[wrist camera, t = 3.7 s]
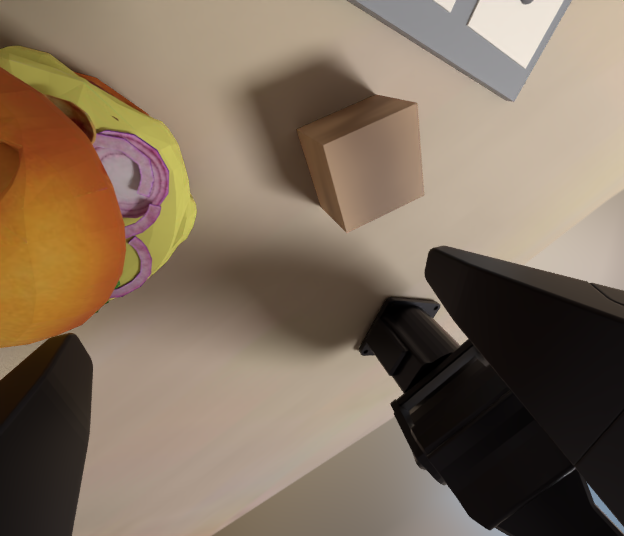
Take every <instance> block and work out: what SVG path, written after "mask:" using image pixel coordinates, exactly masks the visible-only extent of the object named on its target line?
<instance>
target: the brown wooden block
mask: <svg viewBox="0 0 624 536" xmlns="http://www.w3.org/2000/svg"><path fill="white" fill-rule="evenodd" d="M296 130H297V133H298V136H299V139H300V143H301V146H302V149H303V152H304V155H305V159H306V162H307V165H308V168H309V171H310V174H311V178H312V181H313V184H314V187H315V190H316V193H317V197H318V200H319V203H320V206H321V208H322V209H323V210H324V211H325V212H326V213H327V214H328V215H329V216H330V217H331V218H332V219H333V220H334V221H335V222H336V223H337V224H338V225H339V226H340V227H341V228H342V229H343V230H344V231H345V232H346V233H348V232H350V231H352V230H354V229H356V228H358V227H360V226H362V225H364V224H366V223H369V222H371V221H373V220H375V219H377V218H379V217H381V216H383V215H385V214H387V213H389V212H391V211H393V210H395V209H397V208H399V207H401V206H403V205H405V204H408V203H410V202H412V201H414V200H416V199H418V198H420V197H422V196H424V186H423V173H422V159H421V146H420V133H419V119H418V106H417V103H415V102H410V101H405V100H400V99H395V98H390V97H385V96H380V95H373V96H371V97H369V98H367V99H364V100H362V101H360V102H357V103H355V104H353V105H351V106H348V107H346V108H344V109H341V110H339V111H337V112H335V113H332V114H330V115H328V116H326V117H323V118H321V119H319V120H316V121H314V122H312V123H310V124H307V125H305V126H303V127H300V128H298V129H296Z"/></svg>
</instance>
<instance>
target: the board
mask: <svg viewBox="0 0 624 536" xmlns="http://www.w3.org/2000/svg"><path fill="white" fill-rule="evenodd" d="M347 1H349V2H351V3H352V4H354V5H355V6H357V7H358V8H360V9H362V10H363V11H365V12H366V13H368V14H370V15H371V16H373V17H374V18H376V19H378V20H379V21H381V22H382V23H384V24H385V25H387V26H389V27H390V28H392V29H393V30H395V31H397V32H398V33H400V34H401V35H403V36H405V37H406V38H408V39H409V40H411V41H413V42H414V43H416V44H417V45H419V46H420V47H422V48H424V49H425V50H427V51H428V52H430V53H432V54H433V55H435V56H436V57H438V58H440V59H441V60H443V61H444V62H446V63H447V64H449V65H451V66H452V67H454V68H455V69H457V70H459V71H460V72H462V73H463V74H465V75H467V76H468V77H470V78H471V79H473V80H474V81H476V82H478V83H479V84H481V85H482V86H484V87H486V88H487V89H489V90H490V91H492V92H494V93H495V94H497V95H498V96H500V97H502V98H503V99H505V100H506V101H512V102H514V101H515V99H516V98H517V96H518V94H519V92H520V91H521V89H522V87H523V85H524V84H525V82H526V80H527V78H528V76H529V75H530V73H531V71H532V69H533V68H534V66H535V64H536V62H537V61H538V59H539V57H540V55H541V54H542V52H543V50H544V48H545V47H546V45H547V43H548V41H549V40H550V38H551V36H552V34H553V32H554V31H555V29H556V27H557V25H558V24H559V22H560V20H561V18H562V17H563V15H564V13H565V11H566V10H567V8H568V6H569V4H570V3H571V1H572V0H347Z"/></svg>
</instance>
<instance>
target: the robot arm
mask: <svg viewBox="0 0 624 536" xmlns="http://www.w3.org/2000/svg"><path fill="white" fill-rule="evenodd" d="M425 278H426V280H427V282H428V283H429V285H430V286H431V288H432V289H433V291H434V292H435V294H436V295H437V297H438V298H439V300H440V301H441V303H442V304H443V306H444V307H445V309H446V310H447V312H448V313H449V315H450V316H451V317H452V319H453V320H454V321H455V323H456V324H457V325H458V327H459V328H460V329H461V330H462V331H463V333H464V334H465V335H466V336H467V337H468V340H467V341H466V342H464V343H463V344H462V345H461V346H460V345H459V344H458V343H457V342H456V341H455V340H454V339H453V338H452V337H451V336H450V335H449V334H448V333H447V332H446V331H445V330H444V329H443V328H442V327H441V326H440V325H439V324H438V323H437V322H436V321H435V320H434V319H433V318H434V316H435V315H436V313H437V311H438V310H439V308H440V304H439V303H437V302H436V301H426V300H415V299H404V298H394V297H390V298H388V299H387V300H386V301H385V303H384V305H383V306H382V308H381V310H380V312H379V314H378V316H377V317H376V319H375V321H374V323H373V325H372V327H371V328H370V330H369V332H368V334H367V336H366V338H365V339H364V341H363V343H362V345H361V347H360V349H359V352H360V353H361V355H363V356H368V355H375V356H376V357H377V359H378V360H379V361H380V363H381V364H382V366H383V367H384V369H385V370H386V372H387V373H388V375H390V376H392V377H393V378H394V380H395V381H396V383H397V384H398V386H399V387H400V388H401V390H402V391H403V393H404V394H403V395H401V396H400V397H399V398H398V399H397V400H396V399H395V400H394V401H392V402H391V403H390V404H391V406H392V408H393V410H394V415H395V417H396V419H397V421H398V423H399V425H400V427H401V429H402V432H403V433H404V436H405V438H406V439H407V442H408V444H409V446H410V448H411V450H412V452H413V455H414V458H415V461H416V464H417V465H418V466H419V467H420V468H421V469H424V470H427V471H428V472H429V473H430V474H431V475H432V476H433V477H434V478H435V479H436V480H437V481H438V482H439V483H440V484H442V485H446V484H447V485H448V487H449V488H450V489H451V491H452V492H453V493H454V495H455V496H456V497H457V499H458V500H459V502H460V503H461V505H462V506H463V508H464V509H465V511H466V512H467V514H468V515H469V516H470V517H471V518H472V519H473V520H475V521H476V522H477V523H479V524H480V525H482V526H483V527H485V528H486V529H488V530H492V529H493V528H496V529H498V530H500V531H501V532H503V533H505V534H506V535H509V536H624V534H623V533H622V532H621V531H620V530H619V529H618V527H617V526H616V525H615V524H614V523H613V522H612V521H611V520H610V519H609V518H608V517H607V516H606V515H605V514H604V513H603V512H602V511H601V510H600V509H599V508H598V506H597V505H596V504H595V503H594V501H593V498H592V496H591V493H590V490H589V488H588V485H587V483H588V484H589V485H590V487H591V488H592V489H593V490H594V491H595V493H596V494H597V495H598V496H599V498H600V499H601V500H602V501H603V502H604V504H605V505H606V506H607V507H608V508H609V510H610V511H611V512H612V513H613V515H614V516H615V517H616V518H617V519H618V521H619V522H620V523H621V524H622V525H623V526H624V291H623V290H619V289H615V288H610V287H607V286H603V285H599V284H595V283H588V282H587V281H583V280H579V279H575V278H571V277H567V276H563V275H559V274H555V273H551V272H547V271H543V270H539V269H535V268H531V267H527V266H523V265H519V264H515V263H511V262H507V261H503V260H500V259H496V258H492V257H488V256H484V255H480V254H476V253H472V252H468V251H464V250H460V249H456V248H452V247H448V246H439V247H435V248H432V249H431V250H430V251H429V253H428V257H427V262H426V267H425ZM92 379H93V364H92V360H91V358H90V356H89V354H88V353H87V351H86V349H85V348H84V346H83V345H82V343H81V341H80V340H79V338H78V337H77V336H76V335H75V334H73V333H68V334H63V335H59V336H55V337H51V338H49V339H48V340H47V341H45V342H44V343H43V344H42V345H41V346H40V347H38V348H37V349H36V350H35V351H34V352H33V353H32V354H30V355H29V356H28V357H27V358H26V359H25V360H23V361H22V362H21V363H20V364H19V365H18V366H16V367H15V368H14V369H13V370H12V371H11V372H9V373H8V374H7V375H6V376H5V377H4V378H3V379H1V380H0V536H72V532H73V526H74V520H75V515H76V509H77V503H78V498H79V492H80V487H81V481H82V475H83V470H84V464H85V459H86V453H87V447H88V441H89V434H90V421H91V400H92Z"/></svg>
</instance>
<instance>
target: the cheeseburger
mask: <svg viewBox="0 0 624 536" xmlns="http://www.w3.org/2000/svg"><path fill="white" fill-rule="evenodd" d="M196 213H197V211H196V204H195V202H194V200H193V197H192V195H191V194H190V189H189V180H188V176H187V172H186V169H185V165H184V161H183V158H182V155H181V152H180V148H179V145H178V143H177V141H176V140H175V138H174V137H173V135H172V134H171V132H170V130H169V129H168V128H167V127H166V125H164V124H163V122H162V121H159V120H156V119H154V118H152V117H150V116H149V115H148V114H147V113H146V112H145V111H143V110H142V109H140V108H139V107H137V106H136V105H134V104H133V103H132V102H130V101H129V100H127V99H126V98H124V97H123V96H121V95H120V94H119V93H117V92H116V91H114V90H113V89H111V88H110V87H108V86H107V85H106V84H104V83H103V82H101V81H100V80H98V79H97V78H94V77H91V76H87V75H84V74H80V73H77V72H73V71H71V70H70V69H69V68H67V67H66V66H65V65H64V64H62V63H61V62H60V61H58V60H57V59H56V58H54V57H53V56H52V55H50V54H49V53H46V52H42V51H38V50H34V49H30V48H26V47H22V46H10V47H5V48H2V49H0V348H3V347H11V346H19V345H26V344H31V343H34V342H38V341H41V340H44V339H47V338H50V337H53V336H56V335H59V334H61V333H64V332H66V331H68V330H71V329H73V328H75V327H78V326H80V325H82V324H83V323H85V322H86V321H87V320H88V319H89V318H90V317H91V316H92V315H93V314H94V313H97V312H98V310H99V309H100V308H101V307H102V306H103V305H104V304H106V303H108V302H109V300H112V299H114V298H117V297H123V296H124V295H126V294H128V293H130V292H132V291H134V290H135V289H137V288H139V287H141V286H142V284H143V283H144V282H145V281H146V280H147V279H148V278H149V277H150V276H151V275H153V274H154V273H155V272H156V271H157V270H158V269H159V268H160V267H162V266H163V265H164V264H165V263H166V262H167V261H168V259H169V258H170V256H171V255H172V254H173V252H174V251H175V249H176V248H177V247H178V245H179V244H180V243H182V242H183V241H184V240H185V239H186V238H187V237H188V235H189V233H190V231H191V229H192V228H193V225H194V221H195V217H196Z"/></svg>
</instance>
